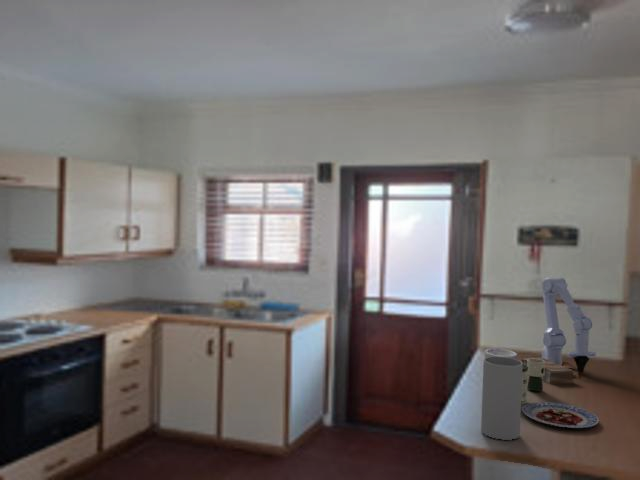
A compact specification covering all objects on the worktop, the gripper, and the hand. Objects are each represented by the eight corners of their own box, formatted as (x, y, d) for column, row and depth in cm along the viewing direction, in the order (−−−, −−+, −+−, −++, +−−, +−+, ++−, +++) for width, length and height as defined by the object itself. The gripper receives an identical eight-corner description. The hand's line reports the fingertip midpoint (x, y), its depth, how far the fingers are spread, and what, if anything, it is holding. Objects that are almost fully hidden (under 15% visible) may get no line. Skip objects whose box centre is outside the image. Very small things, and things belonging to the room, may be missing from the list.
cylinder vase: (483, 424, 199) (485, 354, 198) (520, 430, 194) (523, 359, 193) (478, 437, 188) (481, 363, 187) (518, 444, 183) (521, 368, 182)
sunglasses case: (580, 379, 260) (573, 365, 261) (566, 385, 262) (558, 371, 263) (579, 369, 276) (572, 357, 277) (565, 375, 279) (558, 363, 280)
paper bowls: (512, 374, 266) (513, 357, 265) (480, 368, 274) (480, 352, 273) (519, 367, 279) (520, 351, 278) (488, 362, 287) (489, 346, 286)
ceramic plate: (594, 439, 189) (594, 430, 189) (515, 422, 203) (515, 414, 203) (602, 416, 211) (602, 408, 211) (530, 403, 225) (530, 395, 225)
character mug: (543, 395, 235) (544, 364, 234) (525, 392, 237) (526, 362, 237) (544, 388, 245) (545, 358, 244) (526, 385, 247) (528, 356, 247)
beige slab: (521, 370, 272) (522, 358, 272) (541, 369, 275) (542, 357, 275) (551, 384, 251) (551, 371, 250) (572, 382, 253) (573, 370, 253)
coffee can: (501, 394, 234) (502, 361, 233) (527, 398, 230) (529, 364, 229) (498, 402, 225) (499, 367, 224) (525, 406, 220) (526, 370, 220)
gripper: (574, 345, 261) (573, 374, 262) (600, 344, 265) (599, 373, 265) (564, 342, 268) (563, 370, 269) (590, 341, 271) (588, 369, 272)
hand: (580, 371), depth 267 cm, fingers closed
